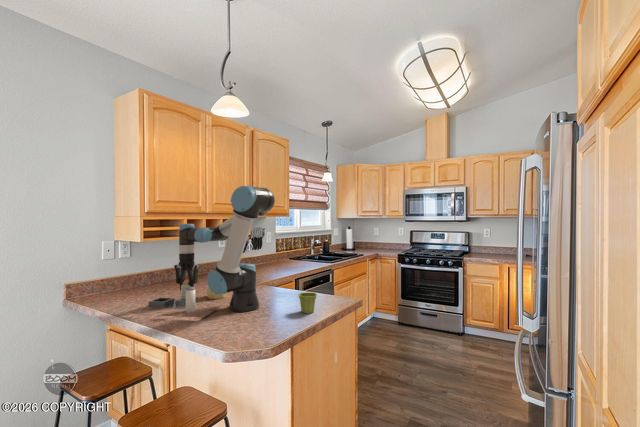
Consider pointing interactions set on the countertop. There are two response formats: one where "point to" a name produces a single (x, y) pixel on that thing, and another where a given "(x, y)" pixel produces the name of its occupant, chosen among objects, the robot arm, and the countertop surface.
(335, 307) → the countertop surface
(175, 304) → the dock
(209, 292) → the sculpture
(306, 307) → the plant pot
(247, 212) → the robot arm
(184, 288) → the pin
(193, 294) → the cream round peg
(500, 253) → the countertop surface
